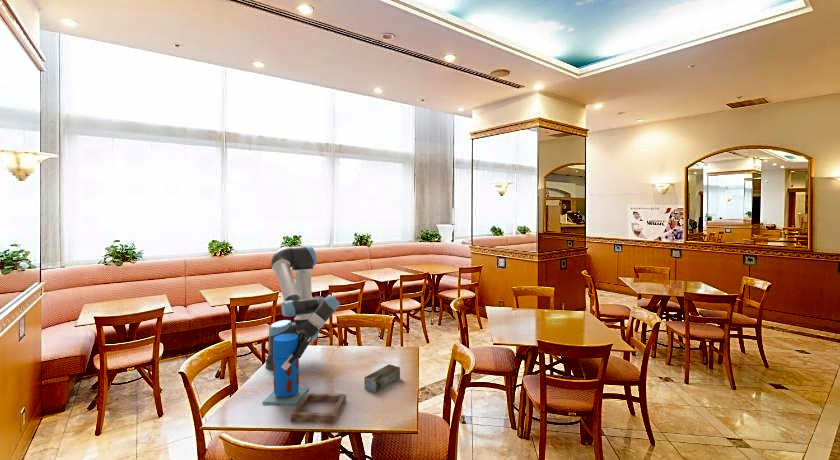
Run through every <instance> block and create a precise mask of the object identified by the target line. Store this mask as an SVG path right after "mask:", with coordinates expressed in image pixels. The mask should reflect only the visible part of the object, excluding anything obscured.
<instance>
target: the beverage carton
mask: <svg viewBox="0 0 840 460" xmlns="http://www.w3.org/2000/svg"><path fill="white" fill-rule="evenodd" d="M400 379H401V367H400V366H396V365H393V364H390V363H389V364H387V365H385V366H384V367H382V368H380V369H378V370H375V371H374V372H372V373H370V374H369V375H366V376H364V381H363V382H364V383H363V384H364V390H366V391H367V390H368V391H370V392H372V393H375V394H376V393H378V392H381V391H382V390H384V389H385V388H387V387H389V386H390V385H392V384H393V383H395V382H397V381H399V380H400Z"/></svg>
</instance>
